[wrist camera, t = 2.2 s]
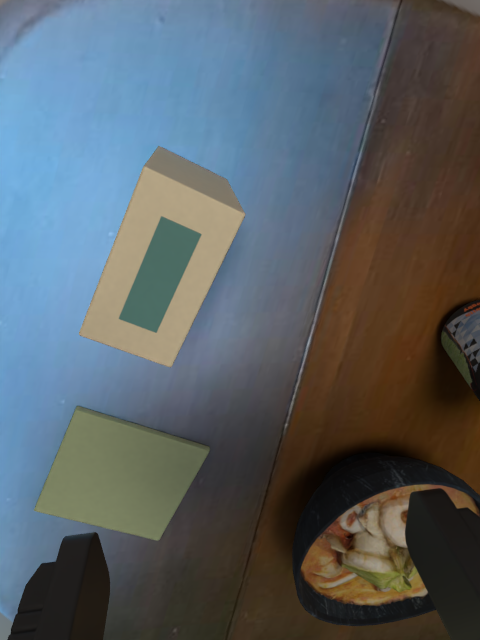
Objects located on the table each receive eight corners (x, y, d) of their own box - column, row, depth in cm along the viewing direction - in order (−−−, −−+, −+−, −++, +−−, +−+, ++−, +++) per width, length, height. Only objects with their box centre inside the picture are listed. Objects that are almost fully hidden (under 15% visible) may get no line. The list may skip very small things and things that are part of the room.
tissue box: (111, 265, 33) (77, 336, 23) (158, 145, 30) (143, 165, 20) (176, 292, 34) (170, 369, 24) (227, 179, 31) (246, 214, 21)
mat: (35, 505, 41) (33, 511, 41) (77, 405, 37) (75, 409, 37) (159, 535, 45) (158, 541, 44) (209, 446, 41) (210, 451, 40)
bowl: (427, 539, 49) (481, 636, 40) (271, 551, 47) (290, 655, 38) (464, 410, 42) (540, 493, 33) (281, 418, 40) (308, 509, 31)
